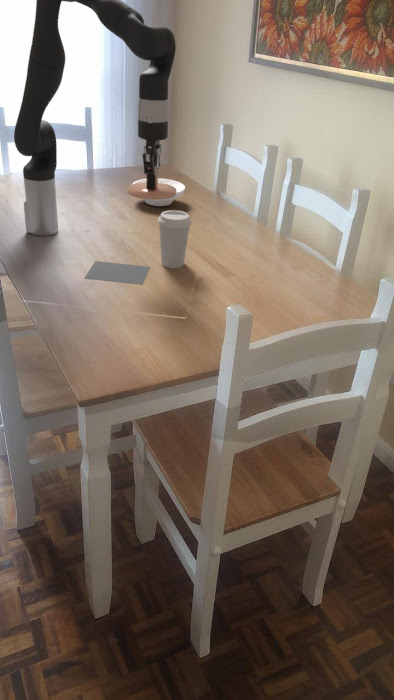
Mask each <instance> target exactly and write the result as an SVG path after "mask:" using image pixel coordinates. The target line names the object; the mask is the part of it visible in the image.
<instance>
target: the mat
mask: <svg viewBox="0 0 394 700" xmlns="http://www.w3.org/2000/svg"><path fill="white" fill-rule="evenodd" d="M150 268H151V266H147V265H137V264H129V263H128V264H127V263H117V262H108V261H98V260H95V261H94V263H93V264H92V266H91V267H90V268H89V270H88V271H87V273H86V275H85V277H84V279H86V280H87V279H88V280H96V281H105V282H116V283H124V284H125V283H126V284H135V285H144V282H145V280H146V278H147V275H148V273H149V270H150Z"/></svg>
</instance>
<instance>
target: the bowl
mask: <svg viewBox="0 0 394 700" xmlns="http://www.w3.org/2000/svg"><path fill="white" fill-rule="evenodd" d="M143 182H147V178H143V179H138V180H136V181H134V182H133V183H132V184H136V183H143ZM158 183H163V184H167V185H171V186H173V187H175V188H176V190H177V193H176V195H175V196H174V197H171V198H167V199H158V200H152V199H143V201H144V202H145V203H146V204H147V205H150V206H154V207H155V206H156V207H166V206H170V205H171V204H172V203H173V201H174V200H176V199H179V198H180V197H182V195H183V194H184V192H185V189H186V186H185V184H183V183H182V182H179V181H176V180H174V179H168V178H159V177H158Z"/></svg>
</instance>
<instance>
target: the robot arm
mask: <svg viewBox="0 0 394 700" xmlns="http://www.w3.org/2000/svg"><path fill="white" fill-rule="evenodd" d="M35 2H36V3H35V4H36V6H35V17H34V26H33V32H32V41H31V46H30V51H29V57H28V63H27V70H26V79H25V84H24V89H23V96H22V100H21V104H20V108H19V112H18V116H17V119H16V123H15V126H14V130H13V131H14V132H13V141H14V145H15V148H16V150H17V151H18V152H19V154H20V155H22V156H24V157H31V158H30V160H29V161H28V162H27V163H26V164H25V165H24V166H23V169H22V173H23V185H24V195H25V201H24V202H23V210H24V211H23V212H24V220H25V221H24V222H25V223H24V224H25V231H26V233H29V234H31V235H33V236H42V237H44V236H45V237H46V236H47V237H48V236H52V235H55V234H57V233H58V232H59V221H58V203H57V189H56V188H57V187H56V177H55V176H56V175H55V174H56V173H55V172H56V168H57V166H58V162H57V160H58V158H57V157H58V156H57V155H58V154H57V147H58V146H57V137H56V132H55V130H54V128H53V126H52V125H51V123H50V122H49V121H47V120H44V119H43V117H44V114H45V112H46V109H47V107H48V105H49V104H50V103H51V101H52V100H53V99H54V97H55V95H56V93H58V90H59V88H60V86H61V83H62V80H63V76H64V75H63V74H64V69H65V65H66V52H65V48H64V44H63V41H62V38H61V34H60V29H59V17H60V10H61V4H62V2H66V3H73V2H75V3H77V4H80V5H83V6H85V7H87V8H89V9H91V10H92V11H93V12H94V13H95V14H96V16H97V18H98V20H99V21H100V23H101V24H102V25H103V27H105V28H106V29H107V30H108V31H109V32H111V33H112V34H114V35H115V36H117V37H118V38H119V39H121V40H122V41H123V42H124V44H125V45H126V46H127V48H128V49H129V50H130V51H131V52H132V54H133V55H135V56H136V57H137V58H139V59H141V60H144V61H150V62H149V65H148V66H149V67H148V68H147V69H146V70H145V71H142V72H141V73H140V75H139V80H138V81H139V84H138V94H139V95H138V105H137V108H138V109H137V136H138V138H139V139H142V140H145V145H144V146H143V154H142V161H143V173H144V175H146V179H147V189H150V190H154V189H155V177H156V166H158V172H159V170H160V168H161V160H162V158H161V157H162V149H163V144H162V143H160V141H166V140H167V139H168V136H169V99H168V97H169V80H170V75H171V72H172V68H173V64H174V61H175V56H176V49H177V48H176V47H177V46H176V45H177V44H176V40H175V39H176V38H175V36H174V33H173V32H172V30H171V29H169V28H168V27H166V26H161V25H158V26H157V25H146V24H145V20H144V18H143V16H142V15H141V14H140V13H139V12H138V11H137V10H135V9H134V8H133V7H131V6H130V5H128V4H127V3H126V2H124V1H123V0H36V1H35ZM149 167H151V168H152V169H149Z"/></svg>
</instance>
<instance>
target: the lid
mask: <svg viewBox="0 0 394 700" xmlns="http://www.w3.org/2000/svg"><path fill="white" fill-rule="evenodd" d="M149 169H152V168H151V167H149ZM158 178H159V171H158V166H156V177H155V189H154V190H150V189H147V182H143V183H136V184H133V183H132V184H130V185H128V186H127V191H126V192H127V193H128V194H129V195H130V196H131V197H134V198H137V199H143V200H144V199H152V200H158V199H167V198H171V197H174V196H175V195H176V193H177V190H176V188H175V187H173V186H171V185H167V184H163V183H158Z"/></svg>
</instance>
